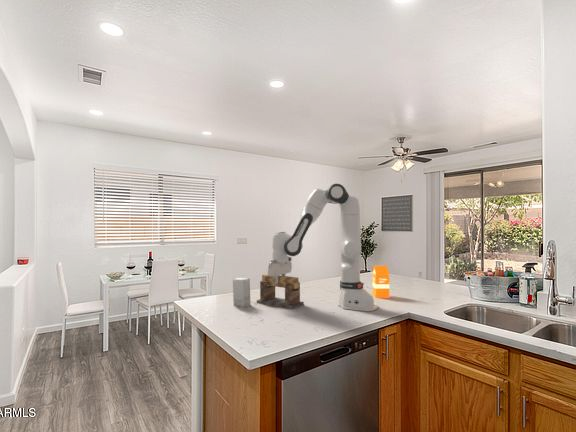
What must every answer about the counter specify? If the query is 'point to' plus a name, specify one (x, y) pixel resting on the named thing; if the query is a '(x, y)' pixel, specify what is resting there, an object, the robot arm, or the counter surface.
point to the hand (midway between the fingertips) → (279, 282)
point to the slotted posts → (289, 302)
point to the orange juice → (380, 282)
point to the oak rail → (281, 281)
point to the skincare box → (241, 291)
